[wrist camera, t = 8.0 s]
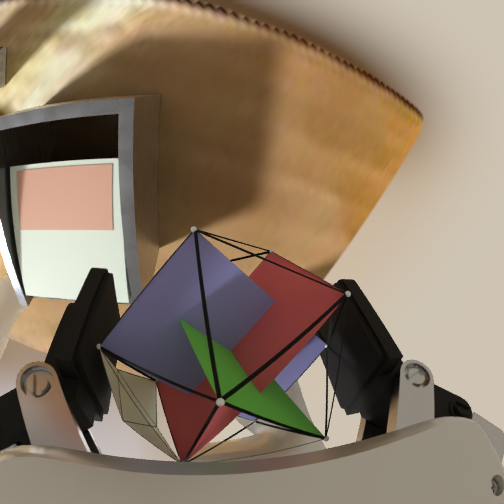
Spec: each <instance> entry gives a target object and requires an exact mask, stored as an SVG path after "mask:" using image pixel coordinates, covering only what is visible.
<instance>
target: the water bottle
mask: <svg viewBox="0 0 504 504" xmlns="http://www.w3.org/2000/svg"><path fill="white" fill-rule="evenodd" d="M26 308H27V306H21V305H20V303H19V300H18V298H17V295H16V293H15V290H14V288H13V285H12V282H11V280H10V277H9V274H7V275H5V276H3V277H2V278H1V279H0V359H1V356H2V354H3V352H4V350H5V348H6V346H7V344H8V340H9V335H10V332H11V329H12V326H13V324H14V322H15V321H16V319H17V317H18V316H19V315H20V314H21V313H22V312H23V311H25V309H26Z"/></svg>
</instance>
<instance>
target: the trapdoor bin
mask: <svg viewBox="0 0 504 504" xmlns="http://www.w3.org/2000/svg"><path fill="white" fill-rule="evenodd" d="M160 105H161V94H148V95H125V96H110V97H99V98H89V99H81V100H73V101H66V102H60V103H53V104H48V105H42V106H38V107H34V108H29V109H25V110H21V111H18V112H14V113H10V114H7V115H3V116H0V250H1V253H2V256H3V259H4V263H5V266H6V268H7V271H8V274H9V277H10V280H11V282H12V285H13V288H14V290H15V293H16V295H17V298H18V300H19V303H20V305H21V306H29V304H30V302H31V300H32V298H33V297H37V298H48V299H59V300H71V301H76V300H73V299H61V298H50V297H39V296H29V295H26V293H25V289H24V285H23V280H22V275H21V270H20V265H19V260H18V254H17V247H16V241H15V233H14V225H13V215H12V202H11V182H10V167H13V166H20V165H28V164H37V163H46V162H53V158H52V142H51V121H53V120H60V119H68V118H76V117H86V116H97V115H110V114H119V119H118V166H119V190H120V206H121V219H122V230H123V239H124V248H125V257H126V264H127V271H128V278H129V286H130V296H131V299H130V301H129V303H120V302H117V303H118V304H132V303H133V302H134V300H135V299H136V298H137V297H138V295H139V294H140V293H141V292H142V290H143V289H144V288H145V287H146V285H147V284H148V283H149V282H150V281H151V279H152V278H153V275H154V271H155V266H156V261H157V257H158V252H159V228H158V144H159V121H160Z"/></svg>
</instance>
